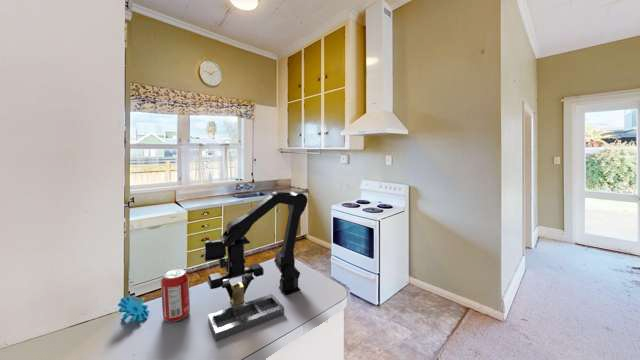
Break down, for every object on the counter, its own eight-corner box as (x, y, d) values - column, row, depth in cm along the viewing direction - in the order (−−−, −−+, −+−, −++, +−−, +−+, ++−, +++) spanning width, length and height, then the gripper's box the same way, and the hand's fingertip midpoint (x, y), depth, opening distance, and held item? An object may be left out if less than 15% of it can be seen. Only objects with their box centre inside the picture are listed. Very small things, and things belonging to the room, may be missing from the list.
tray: (271, 300, 94) (271, 293, 94) (284, 314, 86) (284, 307, 86) (208, 322, 82) (208, 314, 82) (216, 341, 74) (215, 333, 73)
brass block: (240, 296, 96) (240, 281, 95) (244, 302, 93) (243, 286, 92) (229, 300, 94) (229, 284, 93) (233, 305, 90) (232, 289, 90)
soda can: (171, 327, 79) (168, 281, 78) (158, 318, 83) (155, 274, 82) (194, 314, 86) (193, 271, 84) (182, 306, 90) (180, 265, 88)
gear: (140, 324, 78) (114, 302, 77) (125, 339, 77) (99, 318, 76) (157, 307, 89) (135, 288, 88) (143, 320, 88) (121, 301, 87)
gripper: (253, 244, 103) (253, 280, 105) (203, 254, 92) (204, 294, 94) (264, 253, 94) (264, 293, 96) (210, 265, 83) (211, 310, 85)
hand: (236, 297), depth 93 cm, fingers closed on brass block, 4 cm apart
